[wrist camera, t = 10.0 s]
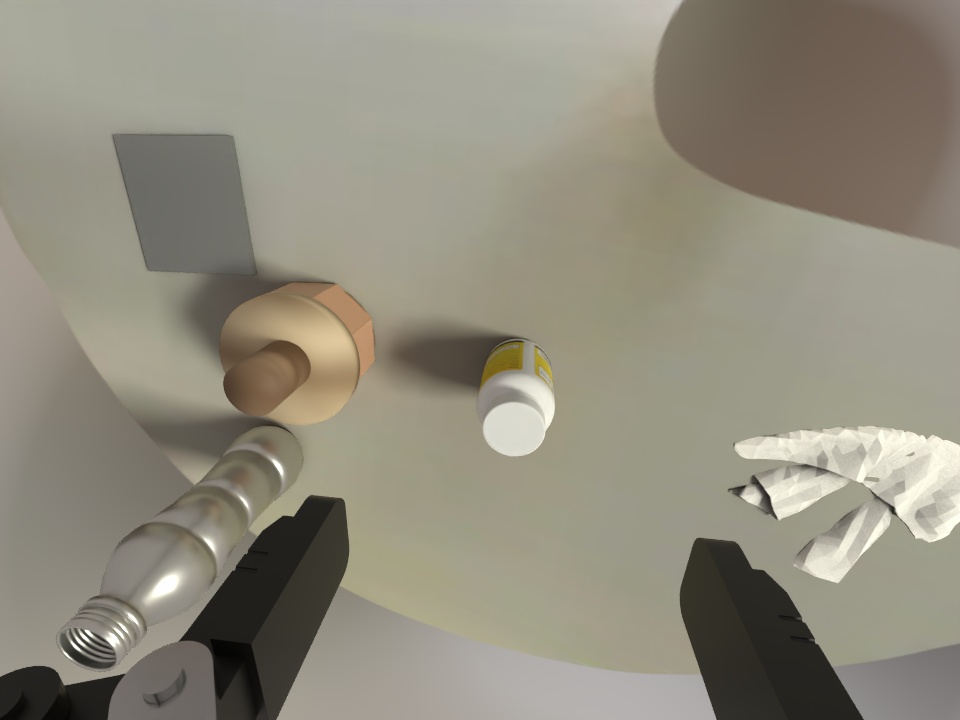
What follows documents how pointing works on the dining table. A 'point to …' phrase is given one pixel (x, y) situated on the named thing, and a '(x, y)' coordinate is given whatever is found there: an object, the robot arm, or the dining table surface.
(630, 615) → the dining table surface
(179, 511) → the plastic bottle
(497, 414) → the supplement bottle
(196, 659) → the robot arm
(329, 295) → the bowl
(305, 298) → the lid
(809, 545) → the cloth
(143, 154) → the mat
